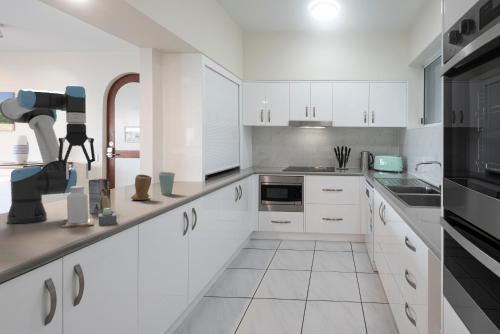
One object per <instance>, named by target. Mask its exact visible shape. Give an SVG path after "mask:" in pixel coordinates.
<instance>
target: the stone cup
mask: <svg viewBox="0 0 500 334" xmlns="http://www.w3.org/2000/svg"><path fill="white" fill-rule="evenodd" d="M134 179H135V180H134V187H135V193H134V194H133V195H132V196H131V197H130V199H131V200H135V201H145V200H147V199H149V197H150V194H149V193H148V192H149V191H150V187H151V185H152V176H150V175H149V174H137V175H136V176H135V178H134Z"/></svg>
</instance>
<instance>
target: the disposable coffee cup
mask: <svg viewBox="0 0 500 334" xmlns="http://www.w3.org/2000/svg"><path fill="white" fill-rule="evenodd" d="M175 175H176V174H175V173H174V172H173V171H172V172H170V171H159V172H158V175H157V176H158V181H159V187H160V192H161V195H163V196H166V195H167V196H170V195H172V193H173V188H174V180H175Z"/></svg>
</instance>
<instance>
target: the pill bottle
mask: <svg viewBox="0 0 500 334" xmlns="http://www.w3.org/2000/svg"><path fill="white" fill-rule="evenodd" d="M66 200H67V201H66V202H67V204H66V207H67V209H66V210H67V220H68V223H73V224H77V223H84V222H87V221H88V219H89V195H88V194H87V192H85V187H84V186H83V185H76V186H72V187H70V193H67V197H66Z"/></svg>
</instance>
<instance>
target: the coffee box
mask: <svg viewBox="0 0 500 334" xmlns="http://www.w3.org/2000/svg"><path fill="white" fill-rule="evenodd" d="M111 207H112V203H111V178H95V179H89V180H88V213H90V214H102V213H103V209H105V208H111ZM111 209H112V208H111Z"/></svg>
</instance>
